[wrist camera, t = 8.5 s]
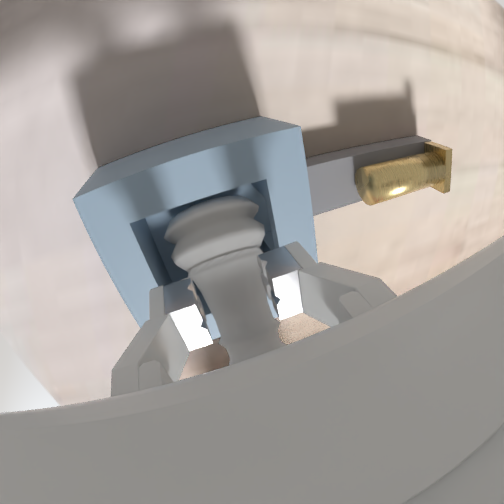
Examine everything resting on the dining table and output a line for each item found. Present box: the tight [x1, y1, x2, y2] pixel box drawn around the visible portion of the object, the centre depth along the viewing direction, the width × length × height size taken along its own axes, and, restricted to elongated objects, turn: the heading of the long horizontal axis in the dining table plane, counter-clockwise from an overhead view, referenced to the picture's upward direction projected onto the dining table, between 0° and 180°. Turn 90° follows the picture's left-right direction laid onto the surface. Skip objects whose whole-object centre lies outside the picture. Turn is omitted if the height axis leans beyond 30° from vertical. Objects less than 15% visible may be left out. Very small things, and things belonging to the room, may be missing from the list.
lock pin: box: [355, 141, 452, 205], centre depth 16 cm, size 7×3×2 cm, turn 102°
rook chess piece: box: [164, 196, 286, 366], centre depth 13 cm, size 4×4×8 cm
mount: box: [73, 116, 431, 340], centre depth 15 cm, size 20×9×5 cm, turn 102°
